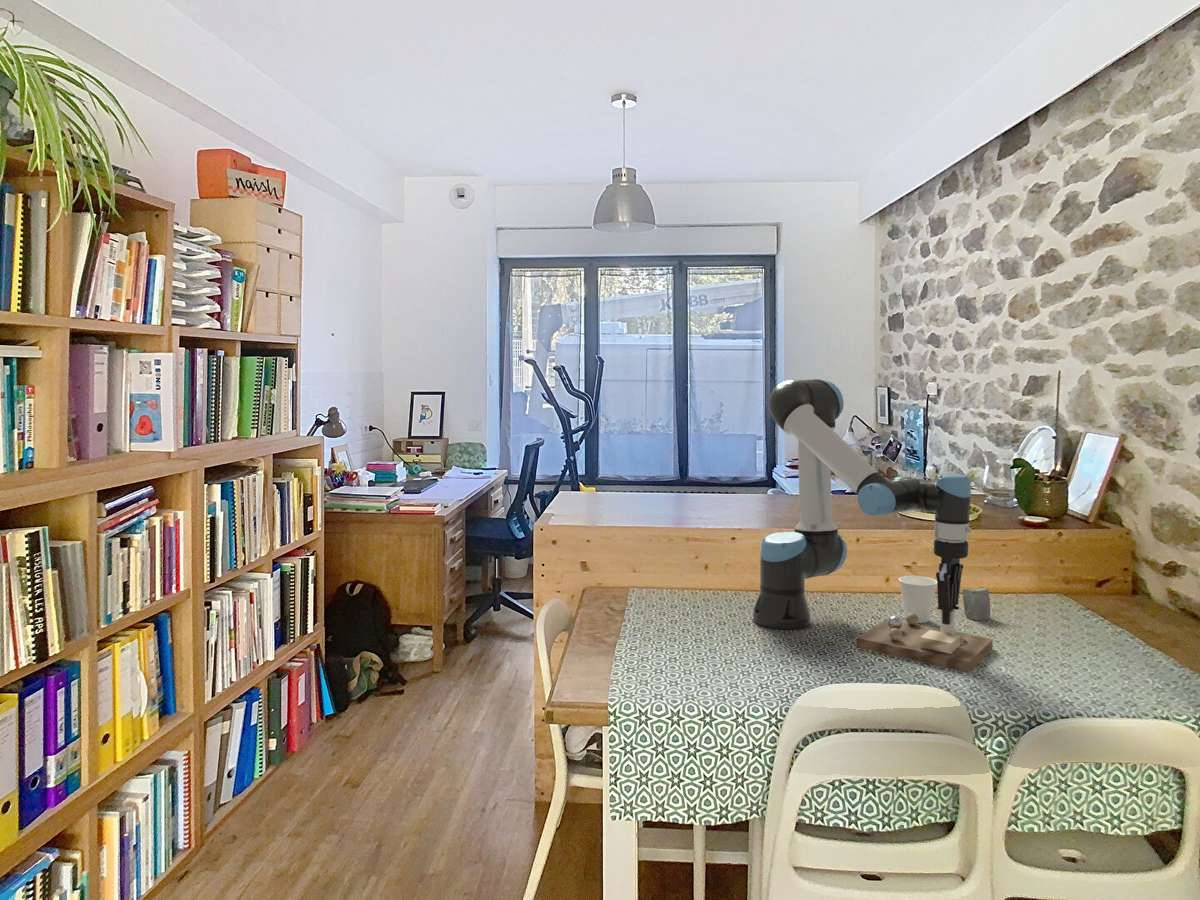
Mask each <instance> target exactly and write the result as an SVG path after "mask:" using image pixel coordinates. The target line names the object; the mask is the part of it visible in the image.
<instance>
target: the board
mask: <svg viewBox="0 0 1200 900" xmlns="http://www.w3.org/2000/svg"><path fill="white" fill-rule="evenodd" d="M888 619H889V618H885V619H883V620H882V621H880V622H878V624H876V625H874V626H873V627H871V628H870V629H868V630H867V631H865V632H863V633H862V634H861V635H859V636H857V637H856V647H855V648H856V649H859V648H861V649H860V650H864V649H866V650H865V651H868V650H871V651H870V652H873V651H875V652H874V653H877V652H879V653H878V654H882V655H883V654H884V655H887V656H892V657H896V658H900V659H905V660H909V661H910V660H911V661H915V662H919V663H924V664H928V665H933V666H937V667H943V668H947V669H951V670H956V671H960V672H964V673H970V672H971V671H972V670H973V669H974V668H975V667H976V666H977V665H978V664H979V663H980V662H981V661H982V660H983V659H984V658H985V657H986V656H987V655H988V654H989V653H990V652H991V651H992V650H993V638H989V637H983V636H978V635H973V634H969V633H968V634H967V633H964V632H959V631H954V635H959V636H960V646H959V647H958V648H957V649H956V650H955V651H954V652H953V653H951V654H949V653H944V652H939V651H935V650H930V649H925V648H920V637H921V636H922V635H924V634H925V633H926V632H928V631H929V630H934V631H939V632H940V628H937V627H932V626H928V625H927V626H926V625H921V624H918V623H917V624H915V625H910V624H908V623H907V621H906V622H905V621H902V627H901V628H900V629H899V630H900V631H901V632H902V638H901V639H900V640H898V641H894V640H892V639H891V638H890V636H889V632H890V630H891V629H890V628H889V626H888Z"/></svg>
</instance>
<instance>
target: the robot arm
mask: <svg viewBox="0 0 1200 900" xmlns="http://www.w3.org/2000/svg"><path fill="white" fill-rule="evenodd" d="M843 410H844V397H843V394H842V392H841V390H840V388H839V387H838V386H836V384H835V383H833V382H832V381H829V380H824V379H818V378H814V379H789V380H784V381H782V382H780V383H779V384H777V385H775V386H774V388H773V389H772V391H771V392H770V395H769V398H768V411H769V413H770V416H771V418H772V419H773V421H774V422H775V424H777V425H778V426H779V428H780V429H781V430H782V431H783V432H784V433H785V434H787V435H793V436H794V437H795V438H797V457H798V460H797V461H798V462H797V463H798V464H797V465H798V493H799V494H798V495H799V497H798V498H799V499H798V500H799V501H798V502H799V521H798V523H797V524H796V525H795V526H794V531H783V532H780V531H779V532H773V533H771V534H768V535H766V536H765V537H763V539H762V540H761V545H760V553H759V554H760V555H759V556H760V566H759V567H760V569H759V571H760V573H759V575H760V576H759V577H760V578H759V579H760V582H759V585H760V586H759V594H758V595H757V599H756V603H755V605H754V607H753V609H752V610H753V612H752V621H754V623H756V624H757V625H759V626H762V627H765V628H766V627H767V628H771V629H777V630H797V629H798V630H799V629H803V628H806V627H808V626H809V625H810V624H811V612H810V610H809V605H808V603H807V602H808V601H807V599H806V596H805V587H806V585H805V584H806V580H807V579H812V578H816V577H820V576H821V577H822V576H828V575H831V574H832V573H835V572H837V571H838V570H840V569H841V568H842V566H843V565H844V564H845V561H846V560H847V556H848V555H847V553H848V552H847V551H848V547H847V543H846V541H845V540H844V539H843V536H842V535H841V534H840V533H839V529H838V525H836V523H834V522H833V517H832V516H833V515H832V514H833V513H832V512H833V511H832V510H833V509H832V481H831V480H832V476H831V475H832V473H833V474H835V476H837V477H838V478H839V479H840V480H841V481H842V483H844V484H845V485H846V486H847V488H850V489H851V491H853V492H854V493H855V494H856V495H857V497H856V498H857V499H856V500H857V501H856V502H857V503H858V506H859V509H860V510H861V511H862V512H863V513H864V514H866V515H868V516H873V517H874V516H875V517H876V516H878V517H880V516H887V515H890V514H894V513H895V514H896V513H901V512H907V511H913V510H915V511H916V510H917V511H918V510H919V511H924V512H925V511H926V512H931V513H934V517H935V518H934V528H933V529H934V530H933V531H934V533H933V536H934V537H935V539H934V540H933V554H934V555H935V556H937V557H940V558H941V559H940V563H938V564H939V566H938V570H939V571H937V572H936V573H935V576H936V577H935V578H936V581H937V586H936V590H937V608H936V609H937V610H940V628H939V629H940V632H944V633H949V634H954V632H955V618H956V616H955V614H956V610H960V606H958V605H959V601H960V600H959V597H960V589H961V581H962V575H963V574H962V573H963V568H964V564H961V563H960V562H961V559H965V558H967V557H968V556H969V542H968V540H969V536H970V535H969V533H970V532H972V528H971V527H969V526H970V511H971V498H972V489H971V488H972V487H971V483H972V482H971V481H972V480H971V478H970V477H969V476H968V475H966V474H961V473H941V474H940V473H939V474H938V475H937V476H936V480H929V479H924V478H916V477H915V478H914V477H912V476H897V477H894V478H893V480H891V481H889V480H888V479H887V478H886V477H885V476H884V475H883V474H881V473H880V472H879V471H878V470H877V469H876V468H875V467H873V466H872V465H871V464H870V463H869V462H868V461H867V460H866V459H865V458H864V457H863V456H862V455H861V454H859V453H858V452H857V451H856V450H855V449H854V448H853V447H852V446H851V445H850V444H848V443H847V442H846V441H845V440H844V439H843V438H842V437H840V435H838V434H837V432H835V431H834V430H835V429H836V420H837V419H838V418H840V415H841V414H842V413H843ZM831 472H832V473H831Z"/></svg>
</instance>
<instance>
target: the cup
mask: <svg viewBox="0 0 1200 900" xmlns="http://www.w3.org/2000/svg"><path fill="white" fill-rule="evenodd" d="M898 581H899V585H900V594H901V600H902V601H901V602H902V606H903V607H902V609H903V615H904V619H905V620H906V617H907V615H908V614H910V613H914V614H916V615H917V616H918V619H919V620H918V623H917V624H924V623H925V624H926V623H928V621H929V620H930V618H931V612H932V606H933V604H934V598H935V594H936V591H937V579H934V578H932V577H931V578H930V577H928V576H927V577H926V576H920V575H906V576H905V575H904V576H901V577H899V578H898Z"/></svg>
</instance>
